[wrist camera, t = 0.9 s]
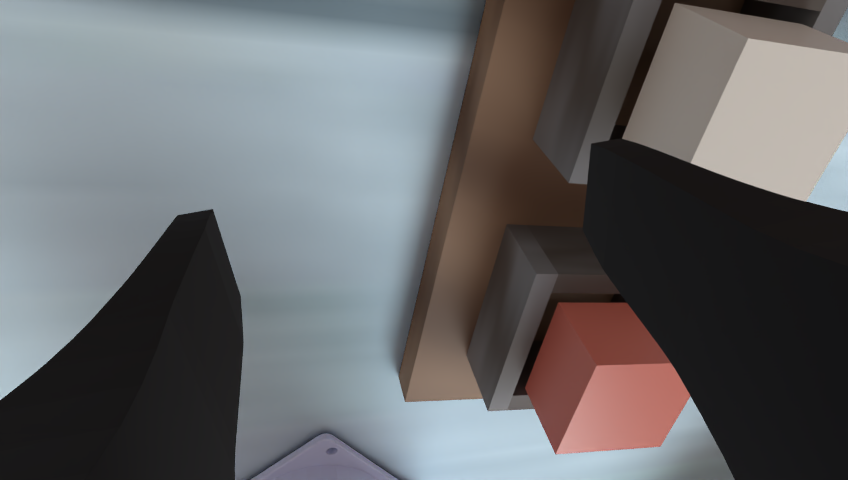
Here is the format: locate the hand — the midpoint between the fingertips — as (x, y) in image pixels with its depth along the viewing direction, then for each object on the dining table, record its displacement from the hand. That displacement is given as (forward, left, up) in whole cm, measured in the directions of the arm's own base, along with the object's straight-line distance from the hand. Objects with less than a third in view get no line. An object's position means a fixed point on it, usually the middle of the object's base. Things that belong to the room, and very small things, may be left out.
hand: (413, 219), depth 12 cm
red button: (-13, -1, -5) cm, 14 cm away
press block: (-9, -4, -10) cm, 14 cm away
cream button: (-6, -8, -5) cm, 11 cm away
